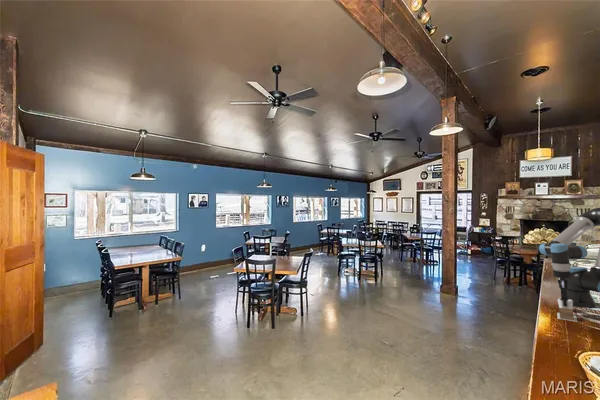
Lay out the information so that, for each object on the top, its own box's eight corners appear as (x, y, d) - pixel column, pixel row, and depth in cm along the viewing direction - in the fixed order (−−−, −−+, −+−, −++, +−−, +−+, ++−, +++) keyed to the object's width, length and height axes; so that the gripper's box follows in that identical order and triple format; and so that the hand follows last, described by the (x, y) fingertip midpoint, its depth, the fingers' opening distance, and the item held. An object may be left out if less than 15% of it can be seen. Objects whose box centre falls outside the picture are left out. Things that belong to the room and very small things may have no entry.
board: (557, 314, 163) (557, 312, 163) (576, 316, 157) (576, 315, 157) (557, 319, 155) (557, 318, 155) (577, 323, 149) (577, 321, 149)
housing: (560, 315, 159) (559, 307, 159) (573, 317, 155) (572, 309, 155) (560, 318, 155) (559, 310, 155) (573, 320, 151) (573, 312, 151)
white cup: (577, 313, 162) (576, 301, 162) (563, 313, 163) (562, 301, 164) (568, 309, 169) (567, 297, 169) (555, 309, 170) (554, 297, 170)
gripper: (552, 267, 168) (557, 307, 167) (552, 271, 159) (556, 313, 157) (570, 268, 163) (574, 309, 162) (570, 273, 154) (575, 316, 152)
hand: (565, 311), depth 160 cm, fingers closed
